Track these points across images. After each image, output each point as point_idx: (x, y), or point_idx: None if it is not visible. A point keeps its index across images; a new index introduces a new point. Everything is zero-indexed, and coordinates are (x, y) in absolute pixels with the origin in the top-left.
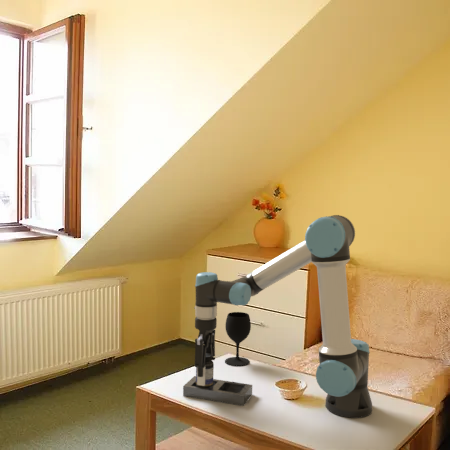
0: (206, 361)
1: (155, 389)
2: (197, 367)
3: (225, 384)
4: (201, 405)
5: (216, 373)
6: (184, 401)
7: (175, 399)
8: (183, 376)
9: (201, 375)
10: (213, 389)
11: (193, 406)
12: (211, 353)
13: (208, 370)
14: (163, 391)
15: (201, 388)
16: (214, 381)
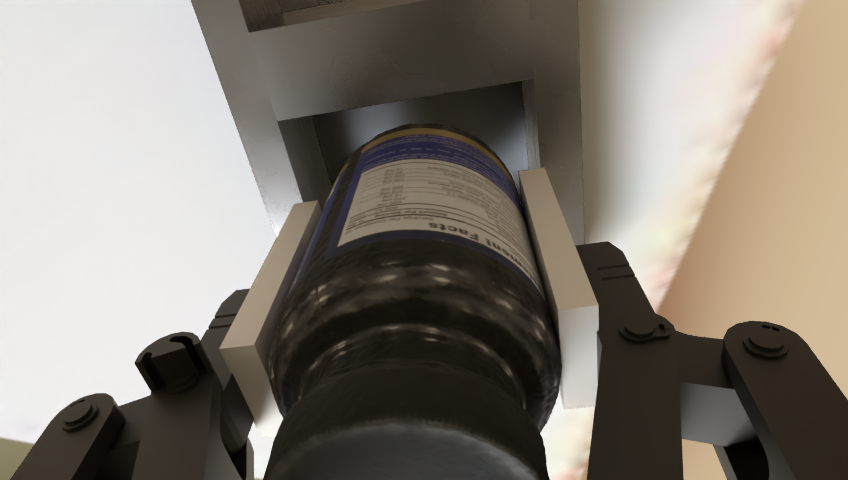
0: (494, 380)
1: (547, 461)
2: (596, 393)
3: (255, 19)
4: (704, 51)
5: (6, 287)
6: (668, 224)
7: (655, 296)
8: (250, 433)
9: (622, 257)
10: (533, 42)
11: (749, 106)
12: (200, 472)
13: (500, 240)
14: (554, 416)
15: (569, 176)
16: (295, 161)
